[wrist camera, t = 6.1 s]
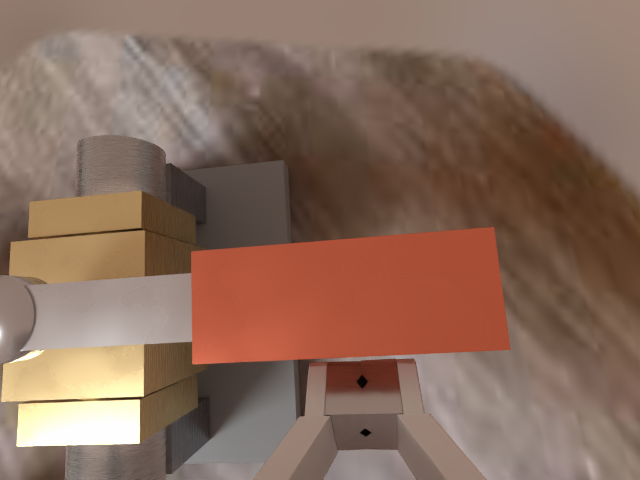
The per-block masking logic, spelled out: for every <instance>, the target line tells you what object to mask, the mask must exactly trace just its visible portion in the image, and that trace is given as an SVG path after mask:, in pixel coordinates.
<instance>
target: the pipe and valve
mask: <svg viewBox="0 0 640 480" xmlns="http://www.w3.org/2000/svg"><path fill="white" fill-rule="evenodd" d="M206 223H207V216H206V187H205V186H203V185H202V184H200V183H199V182H197V181H196V180H194V179H193V178H192V177H190V176H189V175H187V174H186V173H184V172H183V171H181V170H180V169H178V168H177V167H175V166H174V165H172V164H171V163H170V164H166V154H165V152H164V150H163V149H161V148H160V147H159V146H157V145H155V144H153V143H150V142H147V141H144V140H141V139H136V138H132V137H125V136H115V135H101V136H93V137H88V138H85V139H82V140H81V141H79V142H78V144H77V153H76V181H75V197H73V198H63V199H53V200H43V201H33V202H30V208H29V227H28V238H31V239H37V240H27V241H16V242H11V249H10V265H9V276H25V277H35V278H39V279H41V280H43V281H45V282H46V283H48V284H51V283H65V282H78V281H92V280H105V279H119V278H132V277H146V276H159V275H173V274H186V273H191V251H203V250H206V248H202V247H199V246H196V224H206ZM206 369H208V364H192V342H177V343H158V344H140V345H121V346H102V347H83V348H64V349H46V350H45V351H43V352H42V353H41V354H39V355H37V356H35V357H33V358H30V359H27V360H21V361H16V362H10V363H5V364H3V381H2V397H1V402H5V401H27V402H24V403H20V404H19V413H18V431H17V446H50V445H66V462H65V480H166V474H172V473H173V472H174V471H176V470H177V469H178V468H179V467H180V466H181V465H182V464H183V463H185V462H186V461H187V460H188V459H189V458H190V457H191V456H192V455H194V454H195V453H196V452H197V451H198V450H199V449H200V448H201V447H203V446H204V445H205V444H206V443H207V442H208V441H209V440H210V397H198V374H196V373H199V372H201V371H203V370H206Z"/></svg>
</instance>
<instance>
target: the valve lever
mask: <svg viewBox="0 0 640 480" xmlns="http://www.w3.org/2000/svg"><path fill="white" fill-rule="evenodd" d="M177 342H192V364H213V363H235V362H256V361H278V360H300V359H321V358H343V357H365V356H386V355H408V354H430V353H451V352H473V351H494V350H510V343H509V336H508V328H507V321H506V313H505V306H504V298H503V291H502V283H501V275H500V268H499V260H498V253H497V245H496V238H495V230H494V227H488V228H476V229H463V230H451V231H439V232H426V233H414V234H401V235H389V236H377V237H364V238H352V239H339V240H327V241H315V242H302V243H290V244H277V245H265V246H253V247H240V248H228V249H215V250H203V251H191V273H186V274H173V275H159V276H146V277H132V278H119V279H105V280H92V281H78V282H65V283H51V284H48V283H46V282H45V281H43V280H41V279H39V278H35V277H25V276H9V275H0V364H5V363H10V362H16V361H21V360H27V359H30V358H33V357H35V356H37V355H39V354H41V353H42V352H43V351H45V350H46V349H64V348H83V347H102V346H121V345H140V344H158V343H177Z"/></svg>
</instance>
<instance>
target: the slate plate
mask: <svg viewBox="0 0 640 480" xmlns="http://www.w3.org/2000/svg"><path fill="white" fill-rule="evenodd" d="M183 172H184V173H186V174H187V175H189V176H190V177H192V178H193V179H194V180H196V181H197V182H199V183H200V184H202V185H203V186H205V187H206V216H207V223H206V224H196V246H199V247H202V248H206V250H215V249H228V248H240V247H253V246H265V245H277V244H290V243H292V232H291V212H290V193H289V174H288V167H287V165H286V163H285V162H284V160H278V161H269V162H259V163H250V164H240V165H231V166H221V167H212V168H202V169H193V170H183ZM196 374H198V397H210V440H209V441H208V442H207V443H206V444H205V445H204V446H203V447H201V448H200V449H199V450H198V451H197V452H196V453H195V454H194V455H192V456H191V457H190V458H189V459H188V460H187V461H186V462H185V463H183V464H192V463H254V462H267V460H268V459H269V457H270V456H271V455H272V453H273V452H274V451H275V449H276V448H277V446H278V445H279V444H280V442H281V441H282V440H283V438H284V437H285V436H286V434H287V433H288V431H289V430H290V429H291V427H292V426H293V425H294V423H295V422H296V420H297V419H298V418H299V416H301V406H300V386H299V367H298V360H278V361H256V362H235V363H213V364H208V369H206V370H203V371H201V372H199V373H196Z"/></svg>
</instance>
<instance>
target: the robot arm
mask: <svg viewBox="0 0 640 480" xmlns="http://www.w3.org/2000/svg"><path fill="white" fill-rule="evenodd" d="M367 448H368V449H379V450H398V452H399V453H400V455H401V456H402V458H403V460H404V461H405V463H406V464H407V466H408V467H409V469H410V470H411V472H412V473H413V475H414V476H415V478H416V480H486V478H485V477H484V476H483V475H482V474H481V473H480V471H479V470H478V469H477V468H476V467H475V466H474V464H473V463H472V462H471V461H470V460H469V459H468V457H467V456H466V455H465V454H464V453H463V452H462V450H461V449H460V448H459V447H458V446H457V445H456V443H455V442H454V441H453V440H452V439H451V438H450V436H449V435H448V434H447V433H446V432H445V430H444V429H443V428H442V427H441V426H440V425H439V423H438V422H437V421H436V420H435V419H434V418H433V416H432V415H431V414H425V413H424V407H423V401H422V395H421V390H420V384H419V378H418V372H417V367H416V362H415V360H414V358H412V359H382V360H363V361H344V362H310V365H309V370H308V382H307V393H306V405H305V416H299V418H298V419H297V420H296V422H295V423H294V425H293V426H292V427H291V429H290V430H289V431H288V433H287V434H286V436H285V437H284V438H283V440H282V441H281V442H280V444H279V445H278V446H277V448H276V449H275V451H274V452H273V453H272V455H271V456H270V457H269V459H268V460H267V462H266V463H265V464H264V466H263V467H262V468H261V470H260V471H259V472H258V474H257V475H256V477H255V478H254V479H253V480H323V479H324V477H325V475H326V473H327V472H328V470H329V468H330V466H331V464H332V462H333V460H334V459H335V457H336V455H337V453H338V451H337V450H362V449H367Z"/></svg>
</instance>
